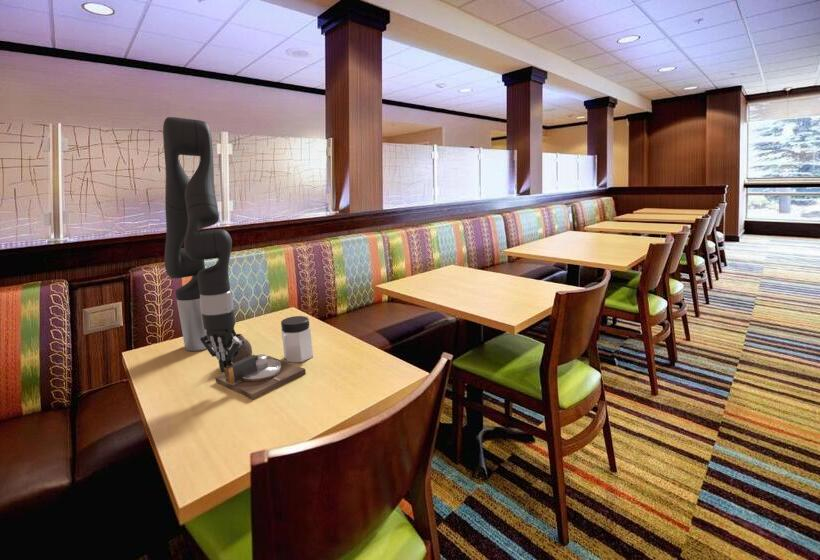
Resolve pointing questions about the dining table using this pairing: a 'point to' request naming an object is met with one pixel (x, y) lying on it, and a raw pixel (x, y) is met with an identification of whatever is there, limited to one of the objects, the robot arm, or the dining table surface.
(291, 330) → the jar
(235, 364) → the knob
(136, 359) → the dining table surface
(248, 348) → the vase
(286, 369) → the base
